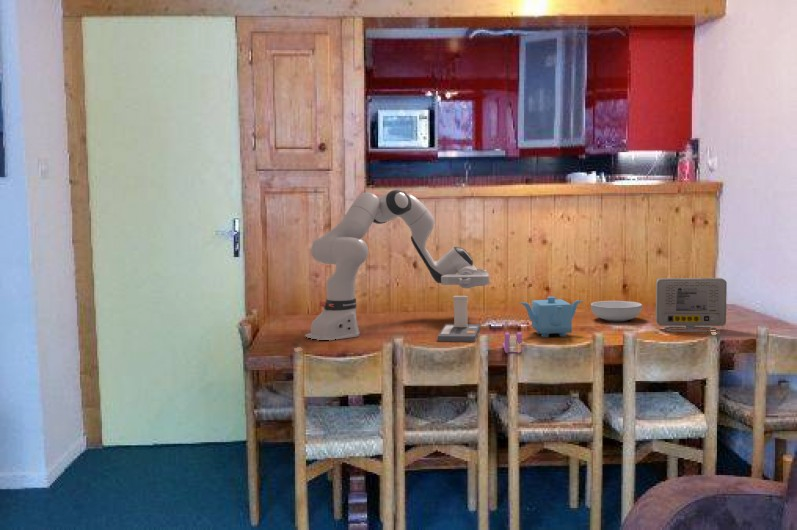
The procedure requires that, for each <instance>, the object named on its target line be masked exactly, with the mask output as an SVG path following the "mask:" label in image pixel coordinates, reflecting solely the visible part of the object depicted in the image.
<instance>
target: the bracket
mask: <svg viewBox="0 0 797 530" xmlns="http://www.w3.org/2000/svg"><path fill="white" fill-rule="evenodd" d="M522 335H523V334H522V332H520V331H519V332H518V331H517V332H516V335H515V336H516V337H517V341H518V343H519V344H520V343H522V344H523V339H522V338H523V336H522ZM509 338H510V332H504V342H502V348H504V349H503V351H504V353H506V354H509V353H508V348H509ZM510 339H511V338H510ZM517 341H516V342H517Z"/></svg>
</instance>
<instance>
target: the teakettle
mask: <svg viewBox="0 0 797 530" xmlns="http://www.w3.org/2000/svg"><path fill="white" fill-rule="evenodd" d="M546 298H547V299H537V300H536V299H535V300H531V305H530V303H528V302H519V304H521V305H523V306H524V308H525V309H526V312H527V316H528V319H530V321H531V324H532V329H534V331H536V334H537V335H541V336H540V337H541V338H549V337H550V334H558V335H559V337H561V338H562V337H563V338H565V337H566V338H567V337H568V335H567V334H572V332H573V331H572V329H573V328H572V326H573V322H572V321H573V319H574V316H575V314H576V310H577V307H578V305H579V304H581V302H584V300H582V299H580V300H575V301H573V303H572V304H571V303H569V302H568V301H566V300H563V299H559V298H558V299H556V298H557V297H555V296H547V297H546Z"/></svg>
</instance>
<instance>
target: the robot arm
mask: <svg viewBox="0 0 797 530" xmlns="http://www.w3.org/2000/svg"><path fill="white" fill-rule="evenodd" d="M398 217H399V218H401V219H402V220H403V221H404V223H405V224H406V225H407V226H408V227H409V229H410V231H411V236H410V239H411V240H410V241H411V242H412V245H413V247H414V249H415V250H416V252H417V254H418V255H419V257H420V258H421V260H422V261H423V263H424V265H425V266H426V268H427V270H428V271H429V274H430V276H431V278H432V279H433V280H434V282H436V283H437V284H441V285H442V286H443V285H444V286H447V285H448V286H456V285H457V286H459V287H460V288H463V289H470V288H474V287H481V286H482V287H484V286H487V285H489V284H490V274H489V273H488V270H487V269H478V268H477V267H476V266H475V265H474V259H473V257H472V256H471V255H470V254H469V252H467V250H466V249H464V248H463V247H458V246H454V247H452V248H451V249H450V250H448V251H447V252H446V253H445V254H444V255H442V256H441V257H440V258H439V259H438V260H435V259H434V258H433V257H432V255H431V254H430V252H429V251H428V249H427V246H426V242H427V241H428V238H430V235H431V233H432V232H433V229H434V226H435V216H434V215H433V214H432V212H431V211H430V210H429V209H428V208H427V206H426V205H424V204H423V202H422V201H420V200H419V198H417V197H415V196H414V195H413V194H411V193H407V192H404V191H403V190H401V189H393V190H391V191H388V192H387V193H385V194H383V195H381V196H379V197H378V196H377V195H376V194H374V193H372V192H368V191H367V192H363V193H361V194H360V195H359V196H358V197H356V199H355V200H354V202H353V203H352V204H351V205H350V207H349V209H348V210H347V211H346V213H345V215H344V217H343V218H342V220H341V221H339V223H338V224H337V225H336V226H334V227H333V228H332V229H331V230H330V231H329V232H327V233H326V234H323V236H321V237H318V238H317V239H315V240H314V241H313V242H312V245H311V248H310V249H311V256H312V258H313V259H314V260H315V261H317V262H320V263H321V264H326V265H335V270H334V272H333V274H332V275H331V276H329V277H328V278H327V280H326V298H327V299H326V301H322V300H321V301H319V307H323V310H322V311H321V312H320V313H319V314H318V315H317V316H316V318H314V319H313V320H312V322H311V326H310V333H306V334H305V335H304V337H305V336H306V337H308V338H311V339H310V340H312V339H317V340H316V341H319V340H329V341H335V339H336V340H343V339H349V338H355V337H359V336H360V334H361V331H360V328H359V323H358V319H357V312H356V309H357V298H356V296H355V295H356V291H355V289H356V287H355V286H356V284H355V283H356V278H357V277H356V275H357V273H358V270H359V268H360V267H361V266H362V265H363V264H364V263H365V262H366V261H367V258H368V256H369V247H368V244H367V243H366V241H365V240H363V238H364V237H365V236H366V234H367V232H368V231H369V230H370V228H371V226H372V224H373V223H374V224H376V225H377V224H378V225H379V224H380V225H381V224H385V223H387V222H389V221H392V220H394V219H397V218H398ZM306 337H305V338H306ZM308 338H307V339H308Z"/></svg>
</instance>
